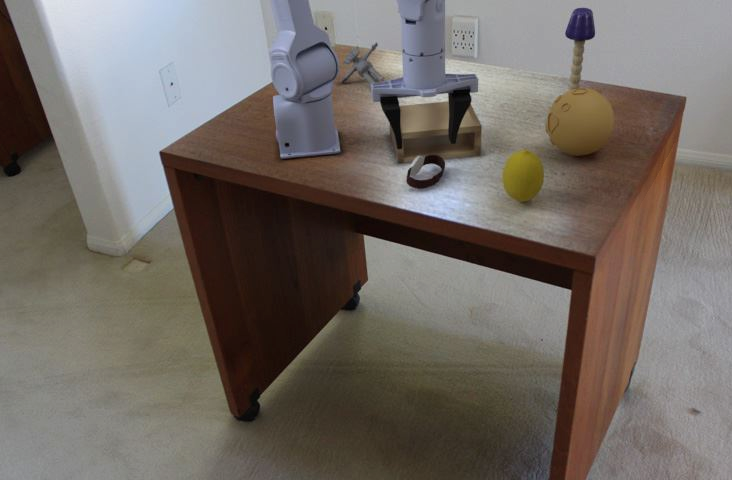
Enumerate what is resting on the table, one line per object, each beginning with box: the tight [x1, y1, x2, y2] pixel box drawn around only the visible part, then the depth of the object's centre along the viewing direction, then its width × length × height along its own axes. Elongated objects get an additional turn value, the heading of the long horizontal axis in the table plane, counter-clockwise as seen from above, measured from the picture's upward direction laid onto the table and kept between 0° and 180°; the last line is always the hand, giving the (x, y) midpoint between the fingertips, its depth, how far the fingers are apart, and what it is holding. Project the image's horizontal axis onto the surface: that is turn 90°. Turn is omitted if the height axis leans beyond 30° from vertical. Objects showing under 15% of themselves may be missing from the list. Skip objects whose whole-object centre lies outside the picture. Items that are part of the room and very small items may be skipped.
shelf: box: [389, 100, 483, 164], centre depth 118 cm, size 13×10×5 cm
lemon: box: [502, 149, 545, 204], centre depth 102 cm, size 6×6×8 cm
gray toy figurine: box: [340, 42, 386, 85], centre depth 140 cm, size 10×6×9 cm
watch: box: [406, 155, 446, 190], centre depth 109 cm, size 8×5×4 cm, turn 145°
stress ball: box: [544, 86, 615, 157], centre depth 112 cm, size 10×10×10 cm
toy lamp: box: [564, 7, 596, 91], centre depth 122 cm, size 5×5×17 cm
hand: (425, 143), depth 107 cm, fingers open, 7 cm apart
